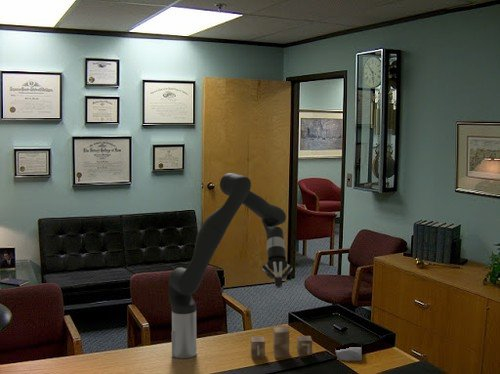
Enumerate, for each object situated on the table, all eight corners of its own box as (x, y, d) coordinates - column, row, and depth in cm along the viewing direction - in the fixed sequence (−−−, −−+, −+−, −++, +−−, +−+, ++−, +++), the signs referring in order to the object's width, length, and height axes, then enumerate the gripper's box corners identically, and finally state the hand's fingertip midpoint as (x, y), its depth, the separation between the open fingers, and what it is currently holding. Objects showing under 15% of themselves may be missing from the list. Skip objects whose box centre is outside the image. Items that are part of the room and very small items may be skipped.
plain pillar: (274, 358, 217) (274, 332, 216) (273, 352, 223) (273, 327, 222) (289, 357, 218) (289, 332, 217) (287, 352, 223) (287, 327, 222)
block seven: (299, 357, 218) (299, 341, 217) (297, 352, 223) (297, 336, 223) (312, 357, 218) (312, 340, 218) (310, 352, 223) (310, 335, 223)
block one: (251, 358, 217) (251, 342, 216) (250, 353, 222) (250, 337, 221) (264, 358, 217) (265, 341, 217) (263, 353, 222) (263, 336, 222)
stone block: (337, 365, 216) (364, 361, 214) (334, 352, 216) (361, 348, 214) (337, 354, 228) (362, 350, 226) (334, 342, 227) (360, 338, 226)
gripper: (260, 245, 237) (262, 282, 226) (292, 245, 238) (296, 282, 227) (259, 255, 243) (261, 291, 232) (291, 254, 244) (294, 291, 233)
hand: (278, 287), depth 229 cm, fingers closed
